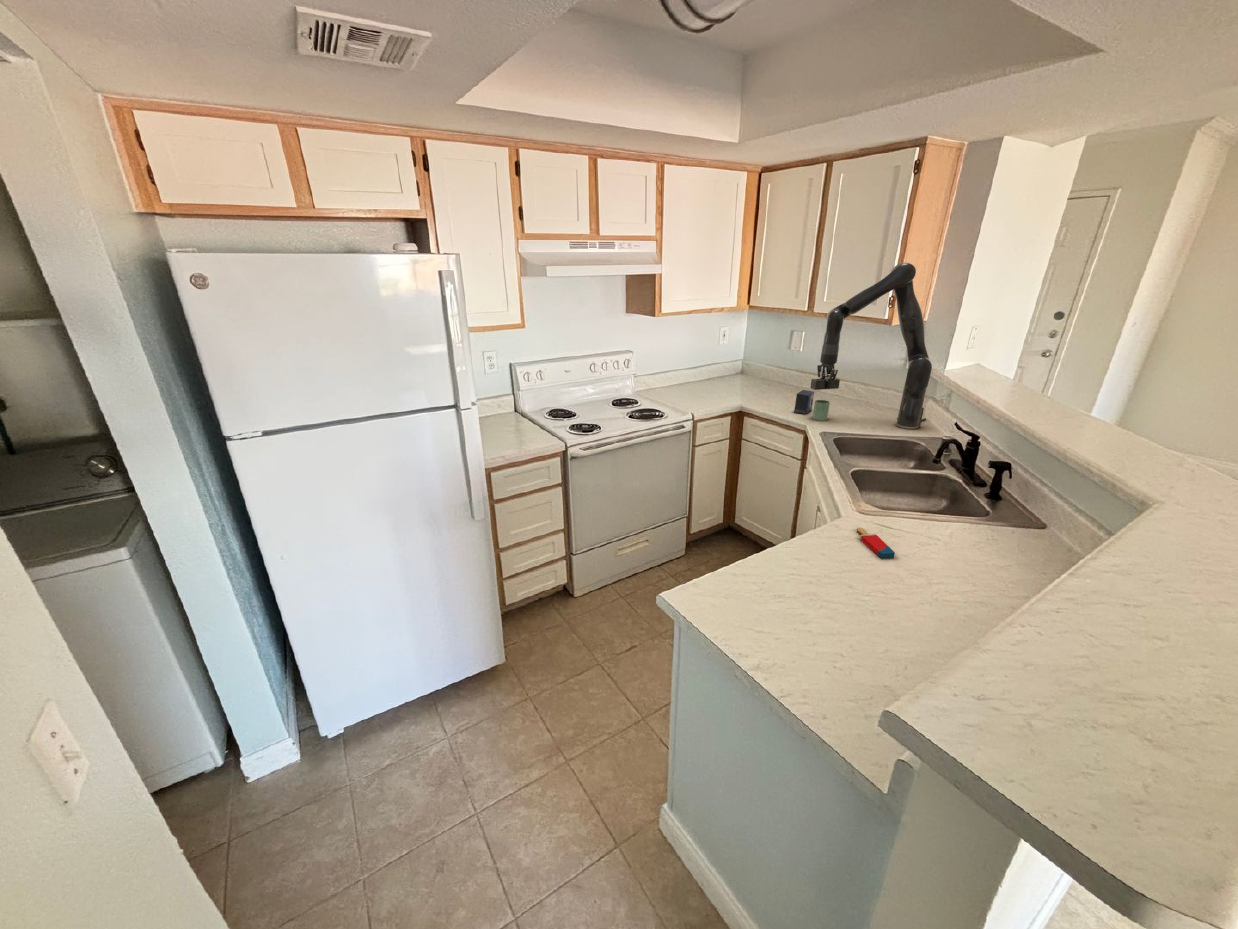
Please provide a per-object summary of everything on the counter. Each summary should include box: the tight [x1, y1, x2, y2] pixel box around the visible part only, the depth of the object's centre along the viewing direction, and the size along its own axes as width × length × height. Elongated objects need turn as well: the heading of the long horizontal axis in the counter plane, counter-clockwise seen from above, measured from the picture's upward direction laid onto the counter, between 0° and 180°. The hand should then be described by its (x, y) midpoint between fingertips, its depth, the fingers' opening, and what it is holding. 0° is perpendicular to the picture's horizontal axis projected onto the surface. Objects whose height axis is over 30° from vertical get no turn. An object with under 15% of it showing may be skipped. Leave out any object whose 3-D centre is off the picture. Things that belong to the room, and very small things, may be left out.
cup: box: [812, 399, 831, 422], centre depth 251 cm, size 7×7×9 cm
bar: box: [809, 377, 841, 391], centre depth 246 cm, size 13×4×4 cm, turn 102°
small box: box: [793, 389, 815, 415], centre depth 264 cm, size 11×6×10 cm, turn 143°
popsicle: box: [856, 527, 896, 559], centre depth 141 cm, size 5×2×15 cm
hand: (824, 387), depth 247 cm, fingers closed on bar, 4 cm apart
